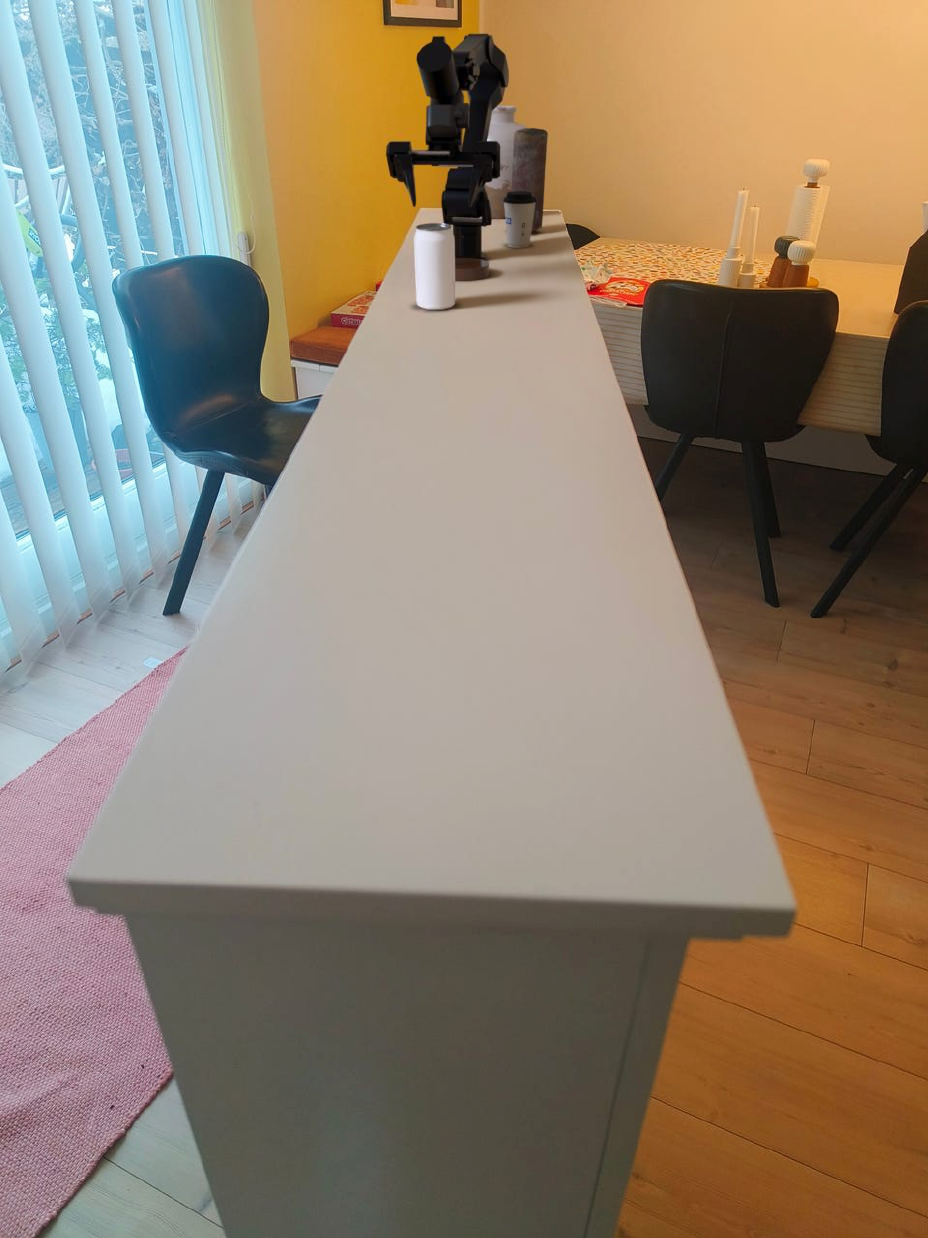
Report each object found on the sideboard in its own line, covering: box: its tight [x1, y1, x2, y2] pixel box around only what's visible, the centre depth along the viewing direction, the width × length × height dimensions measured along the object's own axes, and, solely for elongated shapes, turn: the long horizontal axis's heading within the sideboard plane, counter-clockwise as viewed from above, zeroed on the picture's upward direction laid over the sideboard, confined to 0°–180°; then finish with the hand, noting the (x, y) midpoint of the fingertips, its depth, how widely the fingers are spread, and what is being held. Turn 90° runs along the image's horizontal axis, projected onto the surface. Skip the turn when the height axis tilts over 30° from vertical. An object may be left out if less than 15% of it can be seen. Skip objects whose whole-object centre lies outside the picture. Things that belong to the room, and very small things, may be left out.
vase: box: [485, 105, 528, 219], centre depth 195 cm, size 16×16×23 cm
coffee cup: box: [503, 191, 537, 249], centre depth 170 cm, size 7×7×10 cm
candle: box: [511, 127, 549, 233], centre depth 179 cm, size 8×7×20 cm
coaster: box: [455, 258, 490, 282], centre depth 152 cm, size 9×9×2 cm
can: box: [413, 222, 456, 311], centre depth 132 cm, size 6×6×12 cm
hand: (441, 205), depth 134 cm, fingers open, 9 cm apart
